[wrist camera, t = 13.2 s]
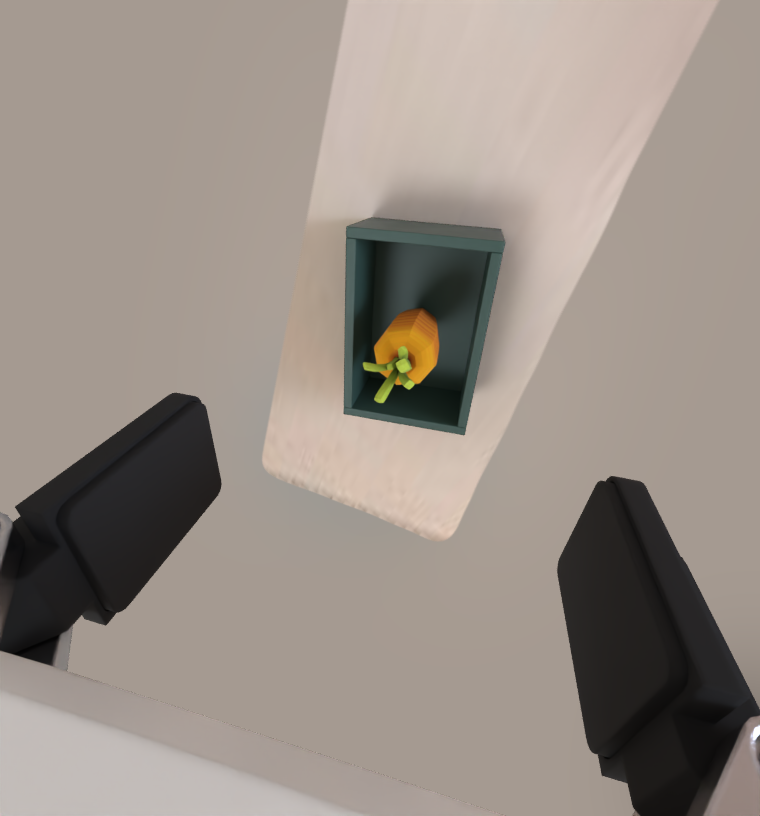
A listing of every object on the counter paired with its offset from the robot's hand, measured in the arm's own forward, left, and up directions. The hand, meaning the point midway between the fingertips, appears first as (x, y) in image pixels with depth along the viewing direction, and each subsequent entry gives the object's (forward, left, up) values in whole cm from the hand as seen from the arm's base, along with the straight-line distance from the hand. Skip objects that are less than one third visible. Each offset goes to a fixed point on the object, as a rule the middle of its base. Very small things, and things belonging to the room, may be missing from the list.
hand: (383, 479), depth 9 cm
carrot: (+6, -2, -31) cm, 31 cm away
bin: (+6, -2, -31) cm, 32 cm away
